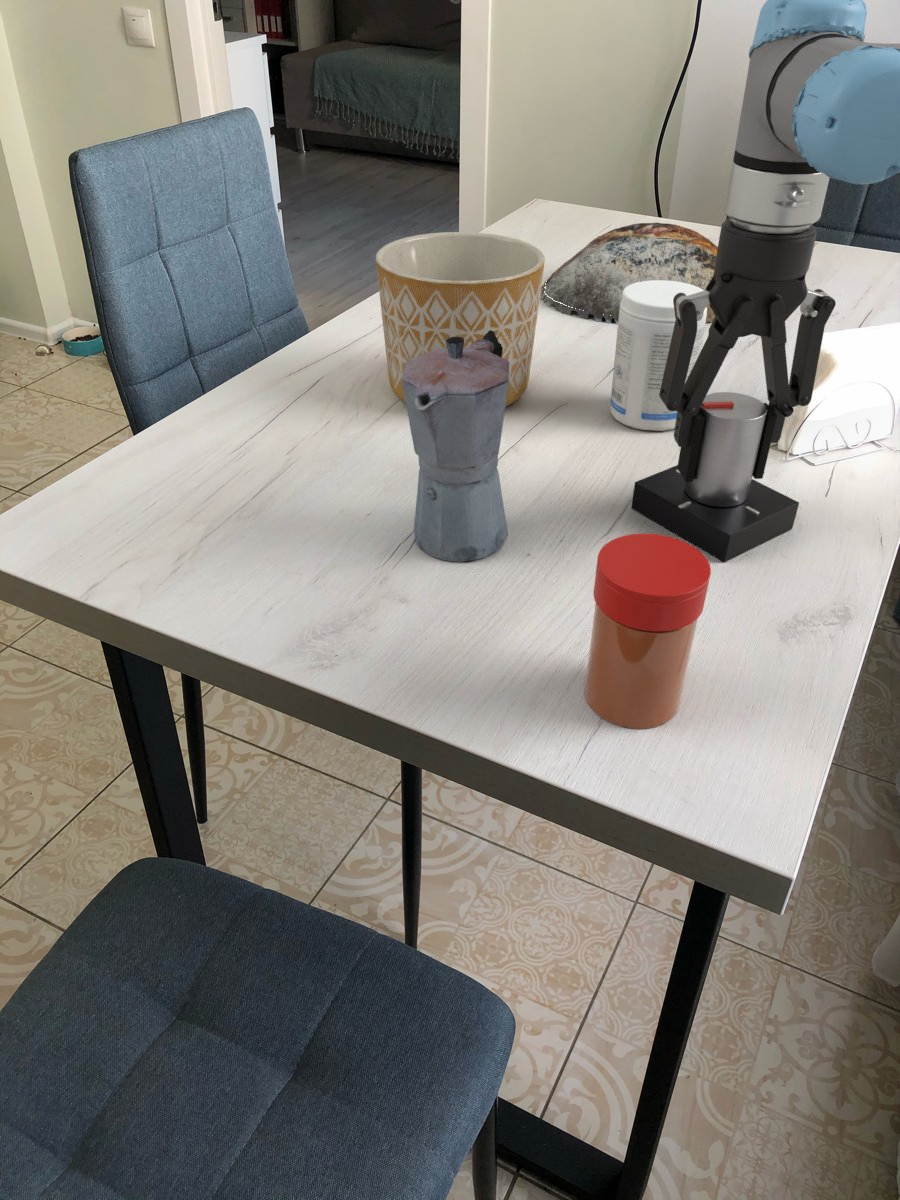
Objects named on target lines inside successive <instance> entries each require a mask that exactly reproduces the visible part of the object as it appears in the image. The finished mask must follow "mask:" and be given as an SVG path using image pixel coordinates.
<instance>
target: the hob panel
mask: <svg viewBox="0 0 900 1200" xmlns="http://www.w3.org/2000/svg"><path fill="white" fill-rule="evenodd" d="M677 467H678V464H676V465H674V466H671V467H669V468H667V469H664V470H662V471H660V472H656V473H655V474H651V475H650V476H646V477H643V478H642V479H640V480H637V481H635V482H634V487H633V492H632V493H633V494H632V501H631V507H630V508H631V509H632V510H633V511H635V512H638V513H639V514H641V516H643V517H646V518H647V519H649V520H651V521H652V522H654V523H656V524H658V525H659V526H661V527H663V528H664V529H666V530H668V531H669V532H671V533H673V534H674V535H677V536H678V537H680V538H681V539H683V540H685V541H686V542H687V543H688V542H689V544H691V545H694V547H696V548H699V549H700V550H702V551H704V552H706V553H707V554H708V555H710V556H712V557H714V558H715V559H718V560H719V561H720V562H723V563H726V562H728V561H730V560H732V559H734V558H736V557H738V556H740V555H742V554H745V553H746V552H748V551H751V550H753V549H754V548H756V547H759V546H761V545H762V544H765V543H767V542H769V541H772V540H773V539H775V538H777V537H779V536H781V535H783V534H785V533H787V532H789V531H791V530H793V529H794V528H793V527H794V524H795V521H796V517H797V512H798V510H799V505H800V502H799V501H797V500H795V499H793V498H791V497H789V496H787V495H785V494H783V493H781V492H779V491H777V490H775V489H773V488H771V487H769V486H768V485H765V484H763V483H761V482H759V481H757V480H756V479H753V478H752V480H751V484H750V488H749V493H748V497H747V499H746V500H745V501H744V502H743V503H741V504H739V505H736V506H732V507H715V506H709V505H705V504H702V503H699V502H697V501H695V500H693V499H692V498H691V497H689V496H688V495H687V493H686V492H685V480H684V478H683V477H682V475H681V473H680V472H679V470H678V469H677Z"/></svg>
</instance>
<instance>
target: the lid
mask: <svg viewBox="0 0 900 1200" xmlns="http://www.w3.org/2000/svg"><path fill="white" fill-rule="evenodd" d="M711 573H712V568H711V565H710V562H709V559H707V557H706V556H705V555H704V554H703V552H701V551H700V550H699V549H698V548H697V547H696V546H693V544H691V543H688V542H687V541H683V540H681V539H678V538H675V537H672V536H669V535H663V534H657V533H631V534H626V535H621V536H617V537H616V538H613V539H612V540H610V541H608V542H607V543H605V544H604V545H603V546H602V547H601V549H599V552H598V555H597V560H596V568H595V577H594V584H593V598H594V602H595V603H596V604H597V606H598V607H599V608H600V610H601V611H602V612H603V613H604V614H606V615H607V616H608V617H609V618H611V619H613V620H614V621H616V622H618V623H620V624H623V625H625V626H628V627H631V628H634V629H639V630H645V631H656V632H658V631H671V630H677V629H680V628H683V627H686V626H688V625H690V624H691V623H693V622H694V621H696V620H697V621H698V619H699V618H700V617H701V615H702V613H703V611H704V606H705V602H706V598H707V592H708V589H709V588H708V587H709V583H710V578H711Z"/></svg>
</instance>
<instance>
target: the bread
mask: <svg viewBox="0 0 900 1200" xmlns="http://www.w3.org/2000/svg"><path fill="white" fill-rule="evenodd" d="M717 249H718V245H716V244H715V243H714V242H713V241H711V240H710V239H709V238H707V237H706V236H704V235H702V234H701V233H700V232H698V231H695V230H693V229H691V228H688V227H684V226H681V225H678V224H674V223H673V224H672V223H665V222H663V223H662V222H639V223H634V224H629V225H625V226H620V227H618V228H617V227H616V228H613V229H612V230H609V231H607V232H605V233H603V234H601V235H599V236H596V237H595V238H594V239H592V241H590V242H589V243H588V244H587V245H586V246H584V247H583V248H581V250H579V251H578V252H576V253H575V255H573V256H572V257H571V258H569V259H568V260H567V261H565V262H564V263H563V264H561V265H560V267H559V268H557V269H556V270H555V271H554V272H552V273H551V275H550V276H549V277H548V278H547V279H546V280H545V281H544V283H543V284H542V285H541V292H540V300H541V299H543V298H544V299H543V301H542V302H543V303H546V304H547V305H548V306H550V305H552V304H554V305H555V307H554V310H556V312H559V313H561V314H564V315H568V316H571V315H572V311H573V312H575V313H576V314H577V315H578V316H579V318H581V319H586V320H587V319H588V318H589V315H591V316H593V319H594V321H596V322H602V319H603V318H604V319H605V323H608V324H611V323H612V319H613V320H614V322H615V324H616V325H618V319H619V309H620V302H621V300H622V293H623V290H624V288H626V287H627V286H629V285H631V284H633V283H637V282H642V281H651V280H666V281H676V282H682V283H687V284H691V285H694V286H696V287H699V288H701V289H702V290H704V291H705V289H706V287H707V285H708V283H709V282H710V281H711V279H712V277H713V275H714V270H715V261H716V255H717ZM546 281H547V282H546ZM545 283H546V285H545ZM545 286H546V289H545V288H544V287H545ZM544 291H545V293H546V294H547V295H548V296H549V297H551V298H553V300H555V301H558V302H561V303H563V304H565V305H567V306H565V305H563V304H560V303H558V302H555V301H553V300H552V299H551V298H549V297H547V295H545V293H544ZM546 300H547V301H546ZM568 306H570V307H568ZM571 307H573V308H571ZM575 308H576V309H575ZM579 309H580V310H579ZM583 310H584V311H583ZM603 314H604V315H603ZM610 315H611V316H610ZM714 318H715V314H714V312H713V311H712V309H711V307H710V305H708V306H707V316H706V323H705V325H706V324H707V323H710V324H712V322H713V320H714Z"/></svg>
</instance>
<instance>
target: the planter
mask: <svg viewBox="0 0 900 1200" xmlns="http://www.w3.org/2000/svg"><path fill="white" fill-rule="evenodd" d="M545 263H546V258H545V255H544V253H543V252H542V251H541V249H539V248H538V247H536V246H535V245H533V244H531V243H529V242H526V241H524V240H521V239H518V238H515V237H510V236H505V235H499V234H492V233H484V232H472V231H471V232H470V231H448V232H447V231H444V232H443V231H441V232H431V233H430V232H429V233H422V234H416V235H410V236H406V237H402V238H399V239H397V240H394V241H392V242H389V243H387V244H385V245H383V246H381V248H380V249H379V250H378V251H377V253H376V254H375V265H376V273H377V274H376V275H377V283H378V291H379V292H378V293H379V301H380V310H381V311H380V312H381V320H382V329H383V338H384V346H385V356H386V365H387V374H388V381H389V385H390V388H391V390H392V391H393V393H394V394H395V396H397V398H399V400H401V401H402V402H404V403H405V404H406V401H405V396H404V391H403V386H402V376H403V373H404V370H405V366H406V362H407V361H408V360H409V359H411V358H414V357H417V356H420V355H422V354H425V353H428V352H430V351H433V350H435V349H439V348H447V345H446V340H447V339H448V338H450V337H462V338H463V339H464V345H463V348H468V347H470V345H471V344H472V343H474V342H475V341H476V340H482V339H483V337H484V336H485V334H486V333H488V331H489V330H491V331H494V332H495V336H496V337H497V339H498V342H499V343H500V344H501V345H502V347H503V351H502V358H504V359H506V360H508V361H509V384H508V390H507V397H506V405H505V408H507V407H508V406H510V405H512V404H514V403H515V402H517V400H519V399H520V398H521V397H522V395H523V394H524V393H525V391H526V390H527V387H528V385H529V380H530V375H531V373H530V372H531V366H532V359H533V358H532V357H533V351H534V344H535V343H534V342H535V335H536V329H537V321H538V314H539V306H540V300H541V299H540V298H541V293H542V292H541V287H542V286H543V277H544V269H545ZM540 292H541V293H540Z"/></svg>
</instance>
